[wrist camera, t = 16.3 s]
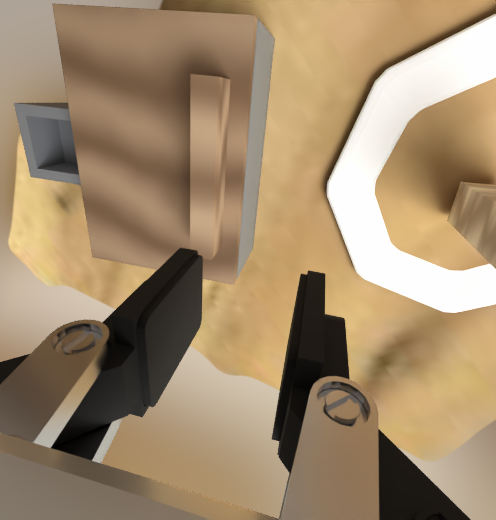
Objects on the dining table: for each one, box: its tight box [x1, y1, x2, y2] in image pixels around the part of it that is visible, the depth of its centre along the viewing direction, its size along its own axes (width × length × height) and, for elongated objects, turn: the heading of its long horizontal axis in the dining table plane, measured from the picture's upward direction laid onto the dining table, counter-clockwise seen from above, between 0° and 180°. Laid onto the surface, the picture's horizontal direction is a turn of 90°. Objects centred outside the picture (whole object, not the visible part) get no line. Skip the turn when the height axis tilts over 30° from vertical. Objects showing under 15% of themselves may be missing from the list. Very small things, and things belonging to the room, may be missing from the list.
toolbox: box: [14, 19, 274, 278], centre depth 33 cm, size 22×23×8 cm
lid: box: [53, 4, 258, 285], centre depth 27 cm, size 22×16×4 cm
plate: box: [327, 14, 496, 313], centre depth 31 cm, size 28×28×2 cm
